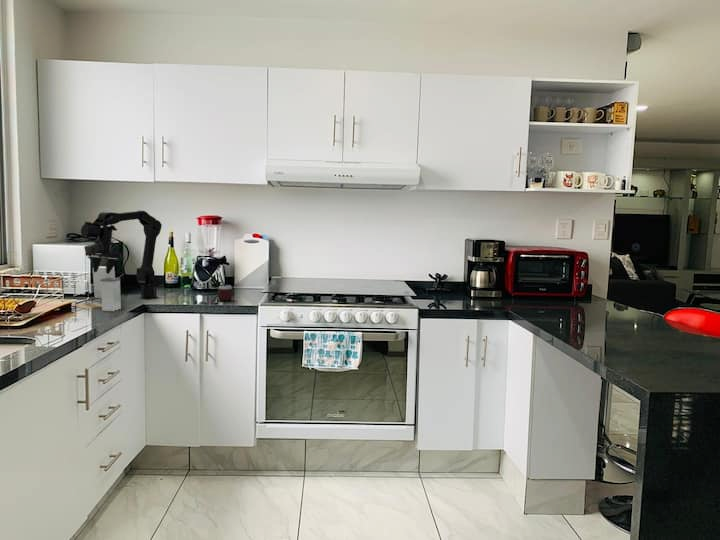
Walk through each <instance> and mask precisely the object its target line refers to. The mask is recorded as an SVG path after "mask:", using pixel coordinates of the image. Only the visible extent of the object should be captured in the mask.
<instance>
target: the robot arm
mask: <svg viewBox="0 0 720 540" xmlns="http://www.w3.org/2000/svg"><path fill="white" fill-rule="evenodd" d="M133 220H137V221H138V222H139V223H140V225H142V226H143V233H144V236H145V240H144V248H143V256H142V263H141V266H140V267H137V268H136V272H135V277H136V281H137V282H138V284H139V286H141V289H140V299H145V300H151V299H158V298H159V296H157V295H158V294H157V292H158V291H157V287H159V284H160V281H159V280H158V279H157V278H156V276H155V270H154V267H153V266H154V265H153V264H154V258H155V257H154V256H155V249H156V243H157V237H158V236H159V235H160V233H161V230H162V222H161V221H160V220H158V219H157V218H155V216H152V215H151V214H149V213H148V212H147V211H146V210H136V211H126V212H109V211H107V212H105V211H102V212H99V214H98V216H97V218H95V220H94V221H93V222H90V221H84V224H83V225H82V226H81V228H80V234H81V236H82V237H85V238H93V239H97V240H95V242H94V243H93V244H88V245H86V246H83V248H84V251H85V256H86V257H87V258H88V260H90V262H91V265H92V270H93V269H94V272H97V270H98V268H99V267H100V266H101V265H100V264H101V262H102V259H104V261H105V262H106V263H105V267H106V273H107V274H109V273H110V271H111V270H112V268H113V267H115V265H116V263H117V262H119V261H120V260H121V259H122V254H121V253H120V252H116V251H113V250H111V249H112V248H111V247H112V245H114V242H113V241H112V240H113V231H115V232H116V231H118V229H117V227H115V225H116V224H118V223H120V222H123V221H124V222H125V221H133ZM103 257H104V258H103Z"/></svg>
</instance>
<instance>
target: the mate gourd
mask: <svg viewBox="0 0 720 540" xmlns="http://www.w3.org/2000/svg"><path fill="white" fill-rule="evenodd" d="M214 272H215V274H217V275H218V277H219V279H220V283H221V285H219V286H218V289H217V294H218V295H217V296H218V302H219V303H228V302H232V301H233V300H232V298H233V293H234V292H233V287H232V285H231V284H224V283H223V282H224V281H223V280H222V277H221V275H220V274H219V273H218V272H217V271H216V270H214Z"/></svg>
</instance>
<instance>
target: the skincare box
mask: <svg viewBox="0 0 720 540" xmlns="http://www.w3.org/2000/svg"><path fill="white" fill-rule="evenodd" d="M104 278H116V271H115V266H113V268H112V270H111V271H110V273H109V274H107V273H106V265H105V266H102V265H99V268H98V270H97V272H94V269H93V268H92V279H93V281H92V282H93V290H94V292H93V293H94V298H95V299H102V295H101V281H100V279H104Z"/></svg>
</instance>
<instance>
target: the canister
mask: <svg viewBox="0 0 720 540" xmlns="http://www.w3.org/2000/svg"><path fill="white" fill-rule="evenodd" d="M100 281H101V295H102V298H101V303H102V307H101V311H102V312H116V311H119V310H118V309H120V310H121V309H122V307H121V305H122V303H121V301H122V300H121V277H115V278H104V279H100ZM115 310H116V311H115Z"/></svg>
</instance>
